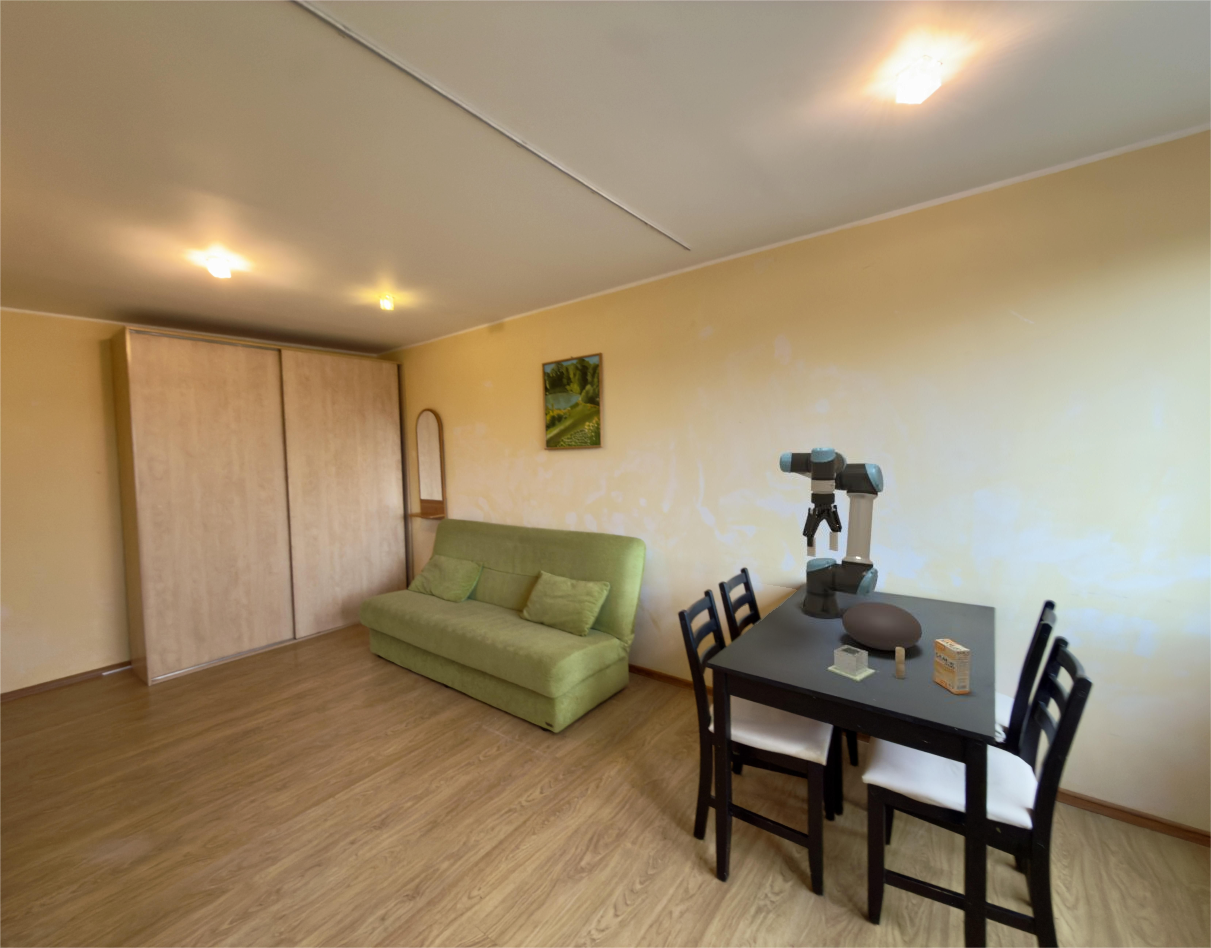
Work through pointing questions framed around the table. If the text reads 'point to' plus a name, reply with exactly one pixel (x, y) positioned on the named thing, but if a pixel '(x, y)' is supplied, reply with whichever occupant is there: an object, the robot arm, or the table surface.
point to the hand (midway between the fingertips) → (822, 553)
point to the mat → (856, 678)
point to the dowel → (899, 662)
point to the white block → (851, 660)
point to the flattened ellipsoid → (881, 626)
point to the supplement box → (952, 666)
